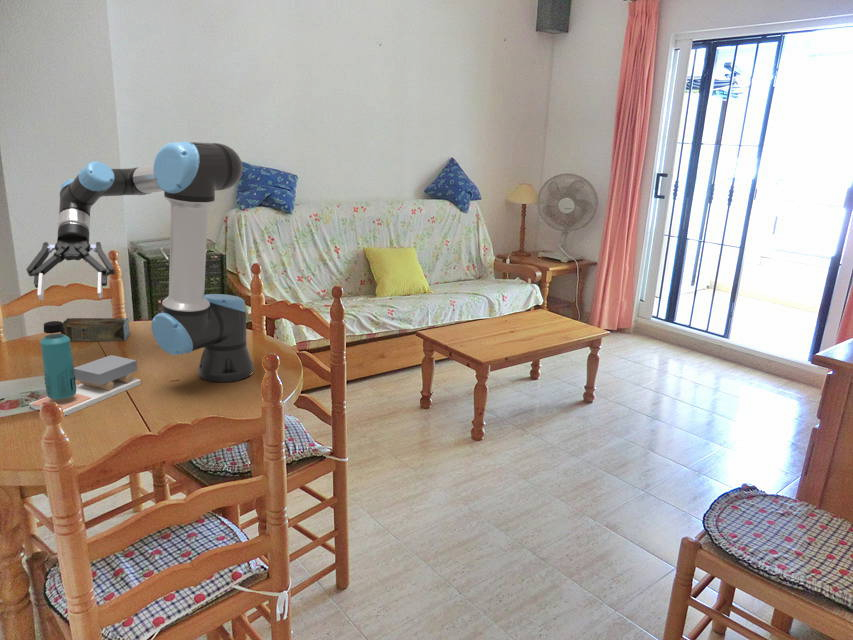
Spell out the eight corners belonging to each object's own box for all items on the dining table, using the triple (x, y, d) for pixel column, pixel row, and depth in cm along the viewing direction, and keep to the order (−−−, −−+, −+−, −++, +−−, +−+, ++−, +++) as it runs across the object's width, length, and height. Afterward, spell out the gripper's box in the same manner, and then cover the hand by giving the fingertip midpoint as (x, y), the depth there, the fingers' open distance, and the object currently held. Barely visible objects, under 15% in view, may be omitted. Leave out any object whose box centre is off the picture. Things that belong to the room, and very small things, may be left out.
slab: (137, 370, 167) (136, 360, 166) (100, 385, 156) (99, 374, 155) (111, 365, 170) (111, 355, 169) (73, 379, 159) (72, 368, 158)
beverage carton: (125, 342, 200) (123, 322, 199) (60, 343, 196) (57, 323, 194) (130, 334, 208) (129, 316, 206) (67, 336, 203) (65, 316, 201)
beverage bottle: (75, 403, 149) (67, 325, 144) (44, 406, 147) (34, 326, 142) (79, 393, 155) (71, 317, 150) (49, 396, 153) (39, 319, 147)
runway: (141, 383, 167) (140, 371, 166) (62, 417, 146) (60, 403, 145) (110, 376, 171) (109, 364, 170) (29, 408, 149) (27, 394, 148)
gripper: (125, 238, 176) (125, 301, 167) (24, 238, 167) (18, 305, 158) (122, 222, 170) (121, 287, 160) (17, 221, 161) (10, 290, 152)
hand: (70, 296), depth 159 cm, fingers open, 13 cm apart
